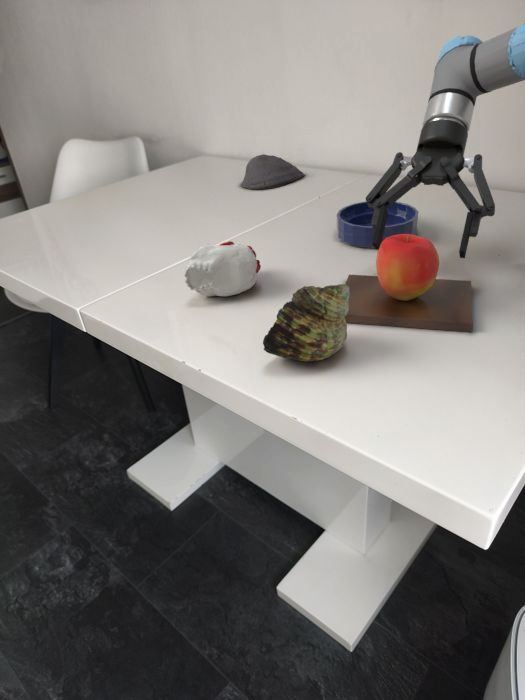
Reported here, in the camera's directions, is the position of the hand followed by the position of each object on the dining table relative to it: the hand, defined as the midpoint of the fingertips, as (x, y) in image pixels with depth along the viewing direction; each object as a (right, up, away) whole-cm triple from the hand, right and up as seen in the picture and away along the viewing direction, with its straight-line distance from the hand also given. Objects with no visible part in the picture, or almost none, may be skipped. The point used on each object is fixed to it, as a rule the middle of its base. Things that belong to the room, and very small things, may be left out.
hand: (417, 250), depth 86 cm
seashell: (-18, -16, -9) cm, 26 cm away
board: (-2, -9, 0) cm, 9 cm away
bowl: (-1, +8, +26) cm, 27 cm away
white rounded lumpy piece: (-30, -5, +10) cm, 32 cm away
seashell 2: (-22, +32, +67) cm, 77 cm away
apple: (-2, -8, -1) cm, 8 cm away
